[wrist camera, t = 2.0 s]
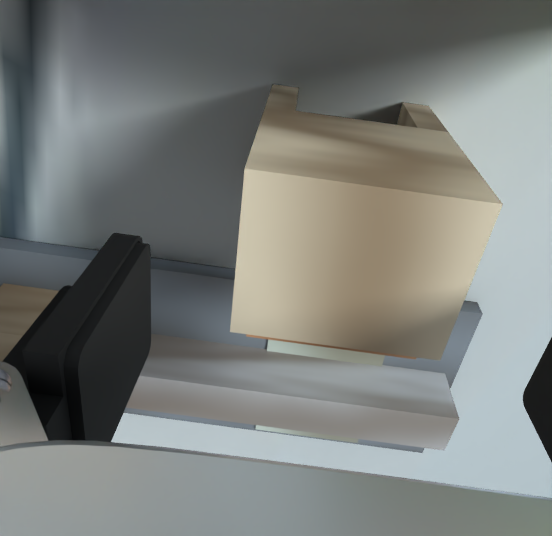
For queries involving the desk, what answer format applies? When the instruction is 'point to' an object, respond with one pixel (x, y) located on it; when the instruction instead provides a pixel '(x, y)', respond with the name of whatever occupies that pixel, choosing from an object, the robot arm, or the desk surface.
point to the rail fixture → (249, 360)
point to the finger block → (357, 231)
